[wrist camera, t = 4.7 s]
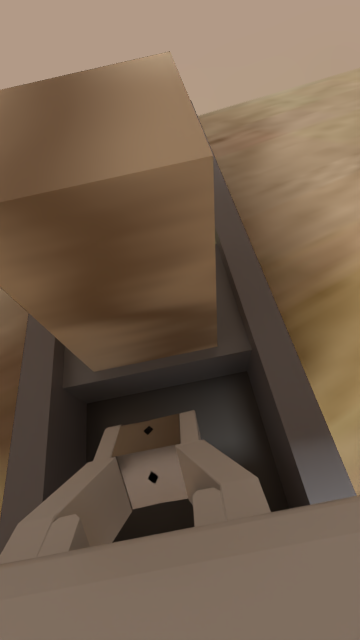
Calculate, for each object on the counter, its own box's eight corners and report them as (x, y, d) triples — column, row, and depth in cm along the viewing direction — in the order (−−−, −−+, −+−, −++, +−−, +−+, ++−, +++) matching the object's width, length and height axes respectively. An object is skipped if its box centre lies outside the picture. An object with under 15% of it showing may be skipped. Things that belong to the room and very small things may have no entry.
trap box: (194, 147, 28) (190, 99, 24) (345, 566, 11) (400, 600, 8) (74, 174, 28) (53, 130, 24) (50, 621, 11) (-22, 677, 8)
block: (193, 254, 16) (169, 51, 9) (217, 346, 13) (213, 155, 6) (93, 276, 17) (-18, 93, 9) (93, 371, 13) (-76, 218, 6)
